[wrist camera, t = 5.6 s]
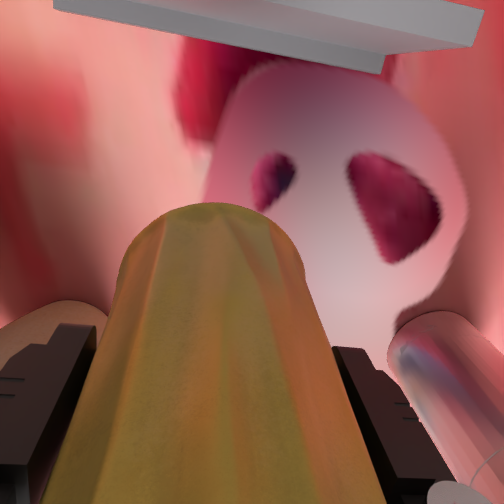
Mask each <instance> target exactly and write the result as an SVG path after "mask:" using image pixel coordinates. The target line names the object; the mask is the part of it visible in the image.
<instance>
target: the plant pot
mask: <svg viewBox="0 0 504 504" xmlns="http://www.w3.org/2000/svg"><path fill="white" fill-rule="evenodd" d="M107 319H108V317H107V316H106V315H105V314H104V313H103V312H102V311H101V310H99V309H98V308H96V307H94V306H92V305H90V304H87V303H84V302H80V301H73V300H63V301H57V302H53V303H50V304H48V305H46V306H43V307H41V308H39V309H37V310H35V311H33V312H30V313H28V314H26V315H24V316H22V317H21V318H19V319H17V320H15V321H13V322H11V323H9V324H8V325H6V326H4V327H2V328H1V329H0V371H1V369H2V368H3V367H4V365H5V364H6V362H7V361H8V360H9V358H10V357H12V356H13V355H15V354H16V353H18V352H19V351H21V350H22V349H23V348H25V347H26V346H28V345H29V344H31V343H33V344H47V343H48V341H49V339H50V338H51V336H52V334H53V333H54V331H55V330H56V328H57V326H58V325H59V324H60V323H72V324H84V325H95V326H96V329H97V347H98V344H99V341H100V339H101V336H102V333H103V330H104V327H105V325H106V322H107Z"/></svg>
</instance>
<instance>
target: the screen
mask: <svg viewBox="0 0 504 504" xmlns="http://www.w3.org/2000/svg"><path fill="white" fill-rule="evenodd" d="M53 8H54V9H56V10H59V11H63V12H68V13H73V14H78V15H83V16H88V17H93V18H98V19H103V20H108V21H113V22H118V23H123V24H128V25H133V26H138V27H143V28H148V29H153V30H158V31H163V32H168V33H173V34H178V35H183V36H188V37H193V38H198V39H203V40H208V41H213V42H218V43H223V44H228V45H233V46H238V47H243V48H248V49H253V50H258V51H263V52H267V53H272V54H277V55H282V56H287V57H292V58H297V59H302V60H307V61H312V62H317V63H322V64H327V65H332V66H337V67H342V68H347V69H352V70H357V71H362V72H367V73H372V74H381V70H382V67H383V63H384V60H385V56H386V55H390V54H401V53H412V52H422V51H433V50H444V49H454V48H465V47H472V45H473V43H474V40H475V37H476V34H477V31H478V28H479V26H480V23H481V20H482V17H483V14H484V11H485V10H481V9H477V8H473V7H469V6H465V5H460V4H456V3H452V2H448V1H444V0H53Z"/></svg>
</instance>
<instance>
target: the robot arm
mask: <svg viewBox="0 0 504 504" xmlns="http://www.w3.org/2000/svg"><path fill="white" fill-rule="evenodd" d="M331 349H332V352H333V354H334V357H335V360H336V363H337V366H338V369H339V373H340V376H341V378H342V381H343V384H344V387H345V390H346V393H347V396H348V399H349V402H350V404H351V407H352V410H353V412H354V415H355V418H356V420H357V423H358V426H359V429H360V431H361V434H362V437H363V440H364V442H365V445H366V448H367V451H368V453H369V456H370V459H371V462H372V464H373V467H374V470H375V473H376V475H377V478H378V481H379V484H380V486H381V489H382V492H383V495H384V497H385V500H386V503H387V504H504V355H503V354H502V353H501V352H499V351H498V350H497V349H496V348H495V347H494V346H493V345H492V344H491V343H490V342H489V341H488V340H487V339H486V338H485V337H484V336H483V335H482V334H481V333H480V332H479V331H478V330H477V329H476V328H475V327H474V326H473V325H472V324H471V323H470V322H469V321H468V320H467V319H465V318H464V317H462V316H461V315H459V314H456V313H453V312H447V311H437V312H431V313H427V314H423V315H421V316H419V317H417V318H414V319H413V320H411V321H410V322H408V323H407V324H405V325H404V326H403V327H402V328H401V329H400V330H399V331H398V332H397V333H396V335H395V336H394V337H393V339H392V341H391V343H390V345H389V348H388V352H387V362H388V365H389V368H390V370H391V371H392V373H393V375H394V376H395V378H396V380H397V381H398V383H399V385H400V386H401V388H402V390H403V391H404V393H405V395H406V396H405V395H404V393H403V391H402V390H401V388H400V386H399V385H398V384H397V383H396V382H394V381H393V380H392V379H391V378H390V377H389V376H388V375H387V374H386V373H385V372H384V371H383V370H376V369H375V368H374V366H373V364H372V362H371V360H370V359H369V357H368V355H367V353H366V352H365V350H363V349H362V348H350V347H339V346H333V347H332V348H331ZM96 350H97V329H96V326H95V325H84V324H72V323H60V324H59V325H58V326H57V328H56V330H55V331H54V333H53V334H52V336H51V338H50V339H49V341H48V343H47V344H33V343H31V344H29V345H28V346H26V347H25V348H23V349H22V350H21V351H19V352H18V353H16V354H15V355H13V356H12V357H10V358H9V360H8V361H7V362H6V364H5V365H4V367H3V368H2V369H1V371H0V504H38V503H39V501H40V498H41V496H42V493H43V491H44V488H45V486H46V483H47V481H48V478H49V476H50V473H51V471H52V468H53V466H54V463H55V461H56V458H57V456H58V453H59V451H60V448H61V446H62V444H63V441H64V439H65V436H66V433H67V431H68V428H69V425H70V423H71V420H72V417H73V414H74V411H75V408H76V406H77V403H78V400H79V397H80V394H81V391H82V388H83V385H84V382H85V380H86V377H87V374H88V371H89V368H90V366H91V363H92V360H93V358H94V355H95V352H96ZM406 397H407V398H408V400H409V401H408V400H407V398H406ZM409 402H410V403H411V405H412V407H413V408H414V410H415V411H414V410H413V408H412V407H410V403H409ZM415 412H416V413H417V415H418V416H417V415H416V413H415ZM418 417H419V418H420V420H421V422H422V423H423V424H422V423H421V422H419V418H418ZM423 425H424V426H423ZM424 427H425V428H426V429H425V428H424ZM426 430H427V431H426ZM427 432H428V433H429V434H428V433H427ZM429 435H430V436H431V438H432V439H431V438H430V436H429ZM432 440H433V441H434V443H435V444H434V443H433V441H432ZM435 445H436V446H437V448H438V449H437V448H436V446H435ZM438 450H439V451H440V453H441V454H440V453H439V451H438ZM441 455H442V456H443V458H444V459H443V458H442V456H441ZM444 460H445V461H446V463H447V464H446V463H445V461H444ZM447 465H448V466H449V468H450V469H449V468H448V466H447ZM450 470H451V471H452V473H453V474H454V476H455V478H456V479H457V481H458V482H457V481H456V479H455V478H454V476H453V474H452V473H451V471H450Z"/></svg>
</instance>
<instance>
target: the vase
mask: <svg viewBox="0 0 504 504" xmlns="http://www.w3.org/2000/svg"><path fill="white" fill-rule="evenodd" d="M38 504H387V503H386V500H385V497H384V495H383V492H382V489H381V486H380V484H379V481H378V478H377V475H376V473H375V470H374V467H373V464H372V462H371V459H370V456H369V453H368V451H367V448H366V445H365V442H364V440H363V437H362V434H361V431H360V429H359V426H358V423H357V420H356V418H355V415H354V412H353V410H352V407H351V404H350V402H349V399H348V396H347V393H346V390H345V387H344V384H343V381H342V378H341V376H340V373H339V369H338V366H337V363H336V360H335V357H334V354H333V352H332V349H331V346H330V344H329V341H328V338H327V336H326V333H325V331H324V328H323V326H322V323H321V321H320V318H319V316H318V313H317V310H316V308H315V305H314V302H313V299H312V297H311V294H310V291H309V289H308V286H307V283H306V280H305V269H304V265H303V262H302V260H301V257H300V255H299V253H298V251H297V249H296V247H295V245H294V244H293V242H292V241H291V239H290V238H289V237H288V235H287V234H286V233H285V232H284V231H283V230H282V229H281V228H280V227H279V226H278V225H277V224H276V223H274V222H273V221H272V220H270V219H269V218H267V217H265V216H263V215H262V214H260V213H257V212H255V211H253V210H251V209H248V208H245V207H242V206H238V205H233V204H228V203H199V204H192V205H188V206H184V207H180V208H177V209H174V210H171V211H169V212H167V213H165V214H163V215H161V216H160V217H158V218H157V219H156V220H154V221H153V222H152V223H150V224H149V225H148V226H147V227H146V228H145V229H143V230H142V231H141V232H140V233H139V234H138V235H137V236H136V237H135V238H134V240H133V241H132V242H131V244H130V245H129V247H128V248H127V251H126V253H125V255H124V257H123V259H122V262H121V265H120V269H119V274H118V277H117V282H116V290H115V295H114V299H113V302H112V306H111V309H110V312H109V315H108V319H107V322H106V325H105V327H104V330H103V333H102V336H101V339H100V341H99V344H98V347H97V350H96V352H95V355H94V358H93V360H92V363H91V366H90V368H89V371H88V374H87V377H86V380H85V382H84V385H83V388H82V391H81V394H80V397H79V400H78V403H77V406H76V408H75V411H74V414H73V417H72V420H71V423H70V425H69V428H68V431H67V433H66V436H65V439H64V441H63V444H62V446H61V448H60V451H59V453H58V456H57V458H56V461H55V463H54V466H53V468H52V471H51V473H50V476H49V478H48V481H47V483H46V486H45V488H44V491H43V493H42V496H41V498H40V501H39V503H38Z"/></svg>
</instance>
